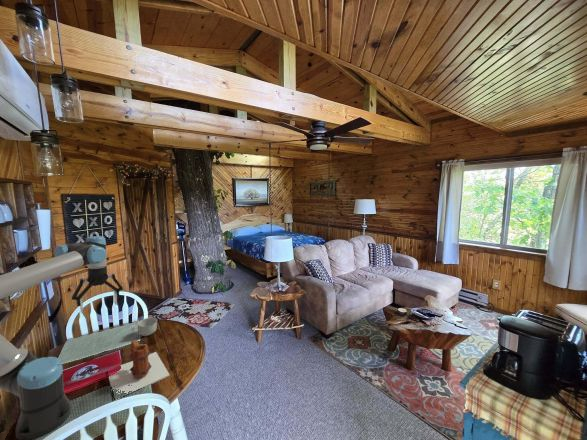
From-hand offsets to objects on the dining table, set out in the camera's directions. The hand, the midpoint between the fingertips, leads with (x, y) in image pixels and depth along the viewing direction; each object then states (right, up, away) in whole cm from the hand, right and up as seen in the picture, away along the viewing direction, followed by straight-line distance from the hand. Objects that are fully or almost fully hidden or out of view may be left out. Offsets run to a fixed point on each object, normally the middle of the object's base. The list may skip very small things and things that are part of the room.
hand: (99, 307), depth 123 cm
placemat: (+22, -32, -3) cm, 39 cm away
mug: (+22, -31, -3) cm, 38 cm away
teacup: (+4, -28, +31) cm, 42 cm away
